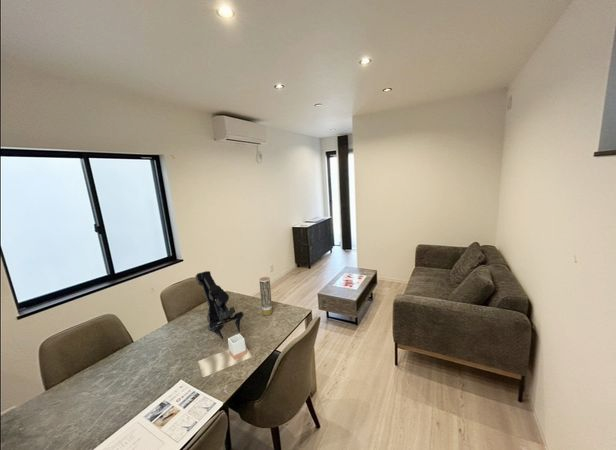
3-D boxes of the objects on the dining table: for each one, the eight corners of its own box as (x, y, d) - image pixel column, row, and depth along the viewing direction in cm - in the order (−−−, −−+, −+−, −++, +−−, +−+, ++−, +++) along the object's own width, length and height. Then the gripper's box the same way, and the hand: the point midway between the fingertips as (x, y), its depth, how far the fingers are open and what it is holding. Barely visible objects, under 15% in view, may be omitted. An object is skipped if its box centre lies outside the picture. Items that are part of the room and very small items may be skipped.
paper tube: (270, 316, 170) (267, 281, 165) (260, 315, 171) (257, 280, 166) (273, 311, 176) (271, 277, 172) (264, 310, 178) (261, 276, 173)
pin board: (202, 379, 118) (201, 371, 118) (198, 362, 129) (197, 355, 128) (252, 358, 130) (251, 351, 130) (244, 345, 141) (243, 338, 141)
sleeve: (234, 360, 128) (232, 344, 127) (229, 353, 133) (227, 338, 132) (246, 354, 132) (244, 338, 131) (241, 348, 137) (239, 333, 136)
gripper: (206, 310, 132) (216, 339, 126) (240, 298, 143) (251, 324, 137) (204, 317, 140) (213, 345, 133) (236, 305, 151) (246, 330, 144)
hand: (231, 336), depth 137 cm, fingers open, 9 cm apart
